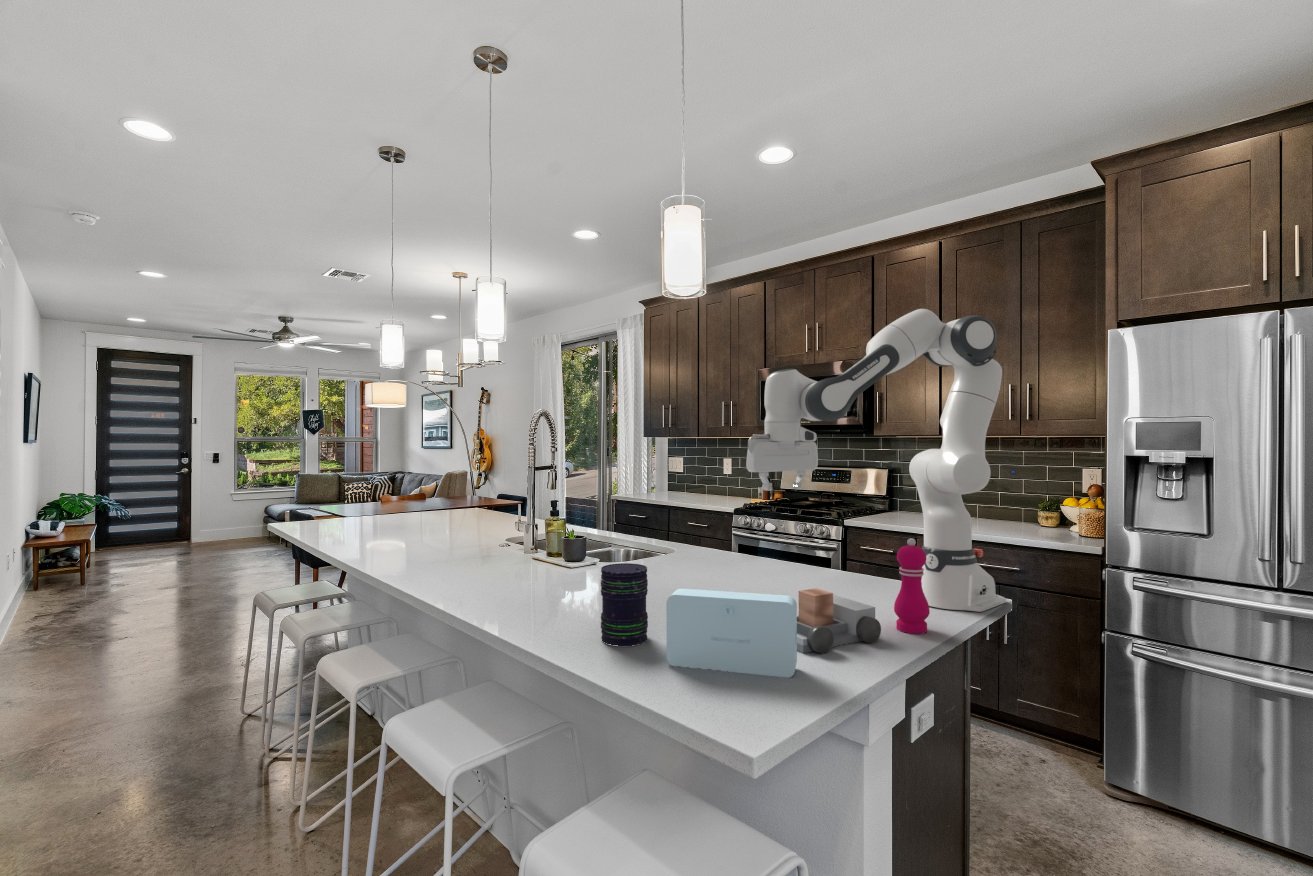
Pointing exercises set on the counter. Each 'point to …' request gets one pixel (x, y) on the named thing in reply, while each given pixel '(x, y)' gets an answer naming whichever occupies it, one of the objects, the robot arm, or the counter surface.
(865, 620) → the chassis
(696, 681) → the counter surface
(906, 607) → the pepper mill
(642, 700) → the counter surface
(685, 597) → the light blue box
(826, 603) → the brown rectangular block
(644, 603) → the storage jar
